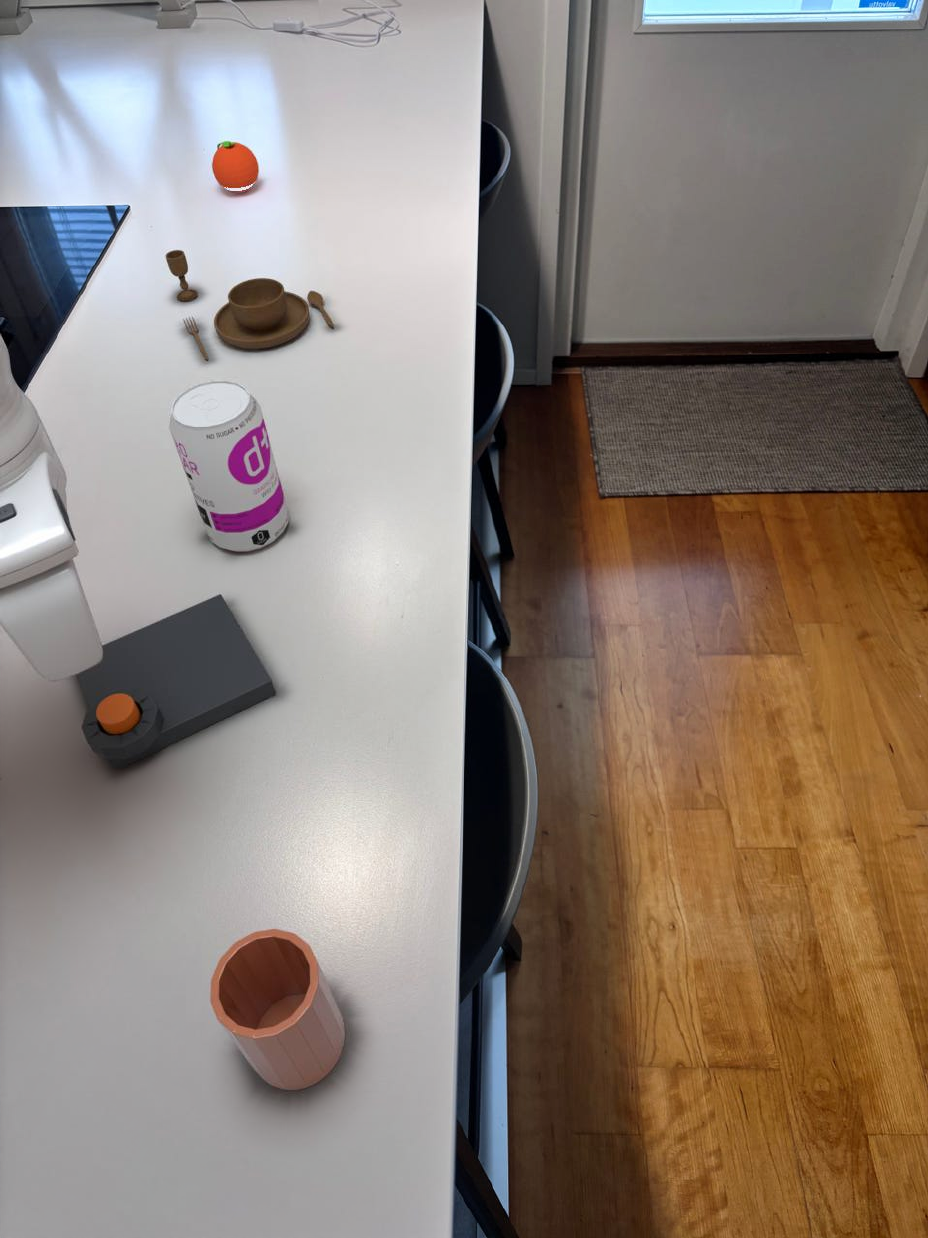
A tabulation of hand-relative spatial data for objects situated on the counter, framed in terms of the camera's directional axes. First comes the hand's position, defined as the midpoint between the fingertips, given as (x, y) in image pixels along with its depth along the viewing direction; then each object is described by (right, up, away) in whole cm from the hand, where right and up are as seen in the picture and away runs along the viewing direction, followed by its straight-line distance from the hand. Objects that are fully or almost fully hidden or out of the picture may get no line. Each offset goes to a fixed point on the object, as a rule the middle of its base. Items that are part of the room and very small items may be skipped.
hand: (66, 627), depth 68 cm
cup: (+17, -27, -6) cm, 32 cm away
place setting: (+1, +40, +55) cm, 68 cm away
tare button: (+1, -7, +9) cm, 11 cm away
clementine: (-7, +67, +80) cm, 104 cm away
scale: (+3, -5, +15) cm, 16 cm away
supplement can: (+7, +10, +28) cm, 30 cm away
